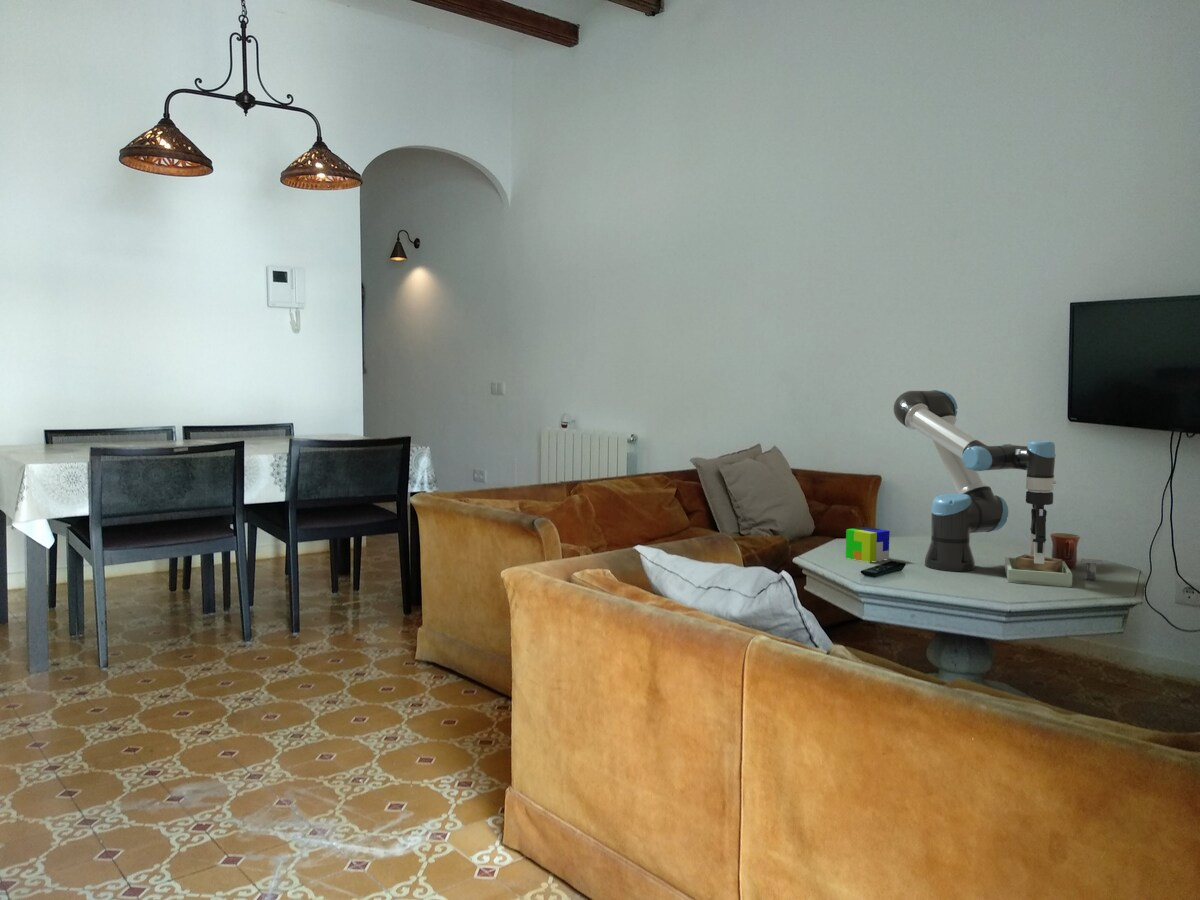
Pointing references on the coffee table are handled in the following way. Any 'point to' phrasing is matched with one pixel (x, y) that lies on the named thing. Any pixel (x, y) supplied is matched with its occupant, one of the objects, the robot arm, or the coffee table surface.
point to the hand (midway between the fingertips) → (1037, 559)
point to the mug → (1065, 548)
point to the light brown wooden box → (1028, 564)
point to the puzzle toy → (867, 544)
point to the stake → (1091, 567)
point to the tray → (1037, 575)
